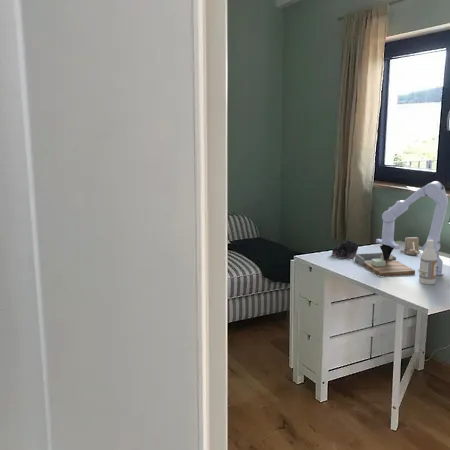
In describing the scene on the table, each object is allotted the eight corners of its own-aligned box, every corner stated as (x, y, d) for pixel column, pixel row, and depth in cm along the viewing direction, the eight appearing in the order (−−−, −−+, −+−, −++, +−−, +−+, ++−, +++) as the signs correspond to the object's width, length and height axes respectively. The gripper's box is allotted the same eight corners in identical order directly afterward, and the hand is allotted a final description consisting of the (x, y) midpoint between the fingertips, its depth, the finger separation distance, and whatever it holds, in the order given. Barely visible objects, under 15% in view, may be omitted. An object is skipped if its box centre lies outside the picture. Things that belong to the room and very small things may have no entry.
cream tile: (392, 259, 262) (392, 254, 263) (382, 258, 263) (382, 254, 263) (390, 261, 267) (390, 256, 268) (380, 261, 267) (380, 256, 268)
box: (395, 263, 264) (396, 257, 263) (363, 265, 261) (363, 259, 260) (386, 258, 274) (387, 252, 273) (354, 260, 270) (355, 254, 270)
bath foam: (432, 286, 230) (436, 242, 226) (417, 283, 234) (420, 240, 230) (436, 282, 236) (440, 239, 231) (421, 279, 240) (424, 237, 235)
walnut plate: (414, 274, 247) (415, 270, 246) (380, 276, 243) (380, 272, 243) (396, 263, 264) (396, 260, 264) (363, 265, 261) (363, 262, 260)
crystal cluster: (327, 255, 282) (327, 238, 279) (345, 250, 289) (346, 233, 286) (344, 263, 271) (345, 246, 268) (362, 257, 278) (363, 240, 275)
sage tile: (385, 266, 253) (385, 261, 253) (375, 266, 253) (376, 261, 252) (380, 263, 258) (380, 258, 258) (371, 263, 257) (371, 259, 257)
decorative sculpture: (418, 256, 278) (419, 243, 276) (400, 255, 281) (401, 242, 279) (418, 249, 293) (419, 237, 291) (400, 248, 296) (401, 235, 294)
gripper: (404, 235, 254) (402, 262, 257) (384, 229, 267) (382, 255, 270) (393, 237, 251) (391, 263, 254) (373, 231, 264) (371, 256, 267)
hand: (386, 259), depth 261 cm, fingers closed
